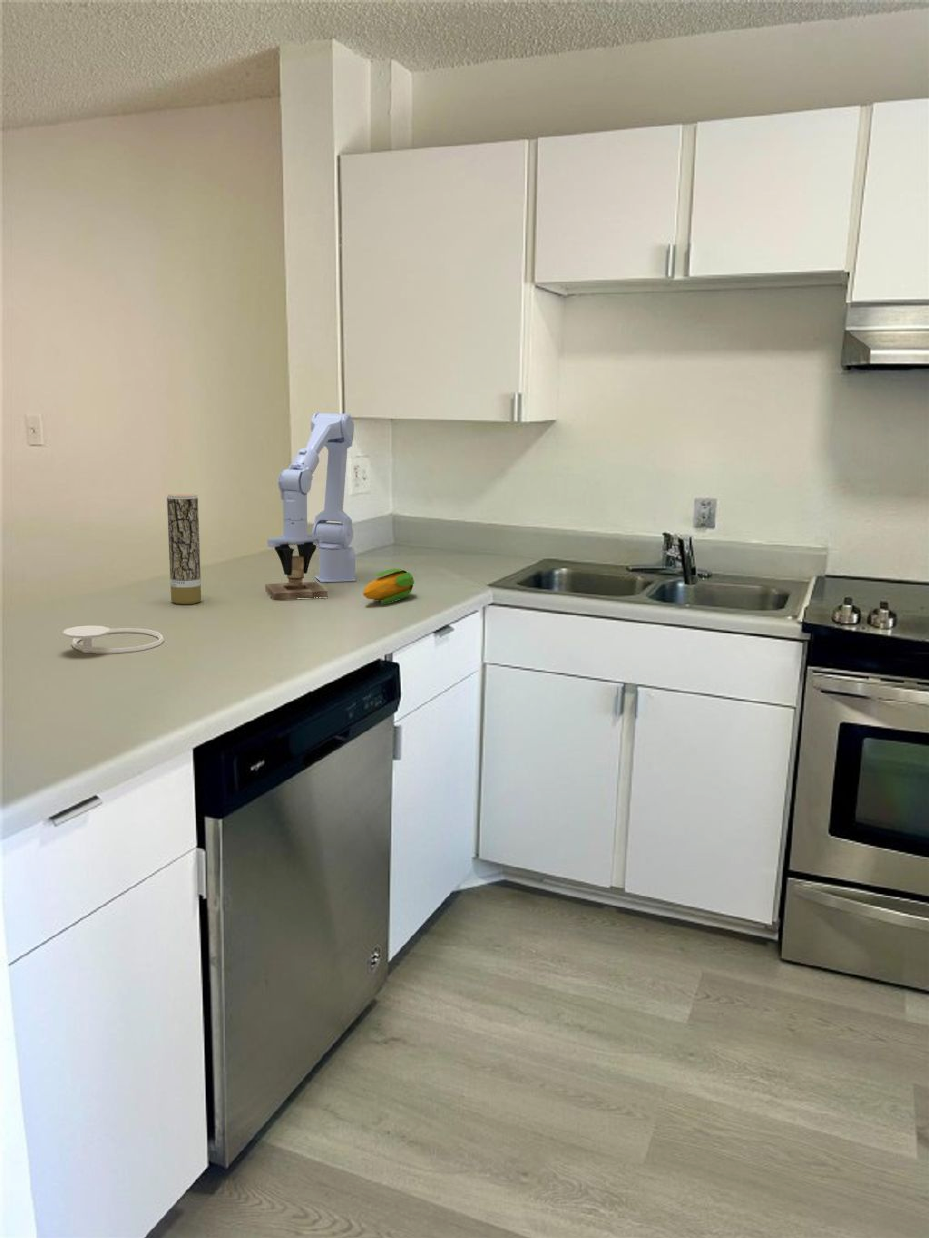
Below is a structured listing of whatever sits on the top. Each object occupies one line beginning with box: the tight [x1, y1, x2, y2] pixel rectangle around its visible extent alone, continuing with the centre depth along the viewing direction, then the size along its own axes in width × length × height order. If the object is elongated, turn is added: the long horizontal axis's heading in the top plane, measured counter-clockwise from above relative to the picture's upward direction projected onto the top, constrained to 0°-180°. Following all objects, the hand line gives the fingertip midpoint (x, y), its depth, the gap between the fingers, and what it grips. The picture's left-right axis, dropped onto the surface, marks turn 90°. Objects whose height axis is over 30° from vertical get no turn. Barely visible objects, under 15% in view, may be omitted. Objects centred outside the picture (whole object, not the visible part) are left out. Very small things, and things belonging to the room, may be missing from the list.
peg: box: [286, 555, 305, 586], centre depth 226 cm, size 4×4×7 cm
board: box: [264, 581, 328, 601], centre depth 227 cm, size 13×12×2 cm
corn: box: [362, 568, 415, 604], centre depth 223 cm, size 7×8×20 cm
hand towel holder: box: [62, 625, 165, 655], centre depth 176 cm, size 17×4×21 cm
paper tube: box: [166, 493, 202, 605], centre depth 212 cm, size 7×7×25 cm
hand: (295, 573), depth 226 cm, fingers closed on peg, 4 cm apart
